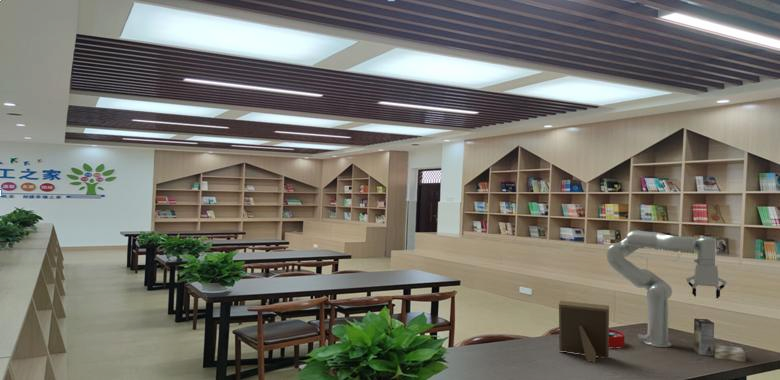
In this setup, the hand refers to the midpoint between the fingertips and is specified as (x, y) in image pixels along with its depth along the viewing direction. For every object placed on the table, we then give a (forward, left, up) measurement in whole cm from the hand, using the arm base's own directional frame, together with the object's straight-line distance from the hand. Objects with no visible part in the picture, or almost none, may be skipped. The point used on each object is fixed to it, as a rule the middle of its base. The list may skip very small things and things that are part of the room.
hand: (706, 297), depth 262 cm
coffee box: (-1, -1, -28) cm, 28 cm away
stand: (+9, -3, -28) cm, 29 cm away
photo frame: (-55, -40, -28) cm, 73 cm away
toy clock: (-47, -6, -28) cm, 55 cm away
